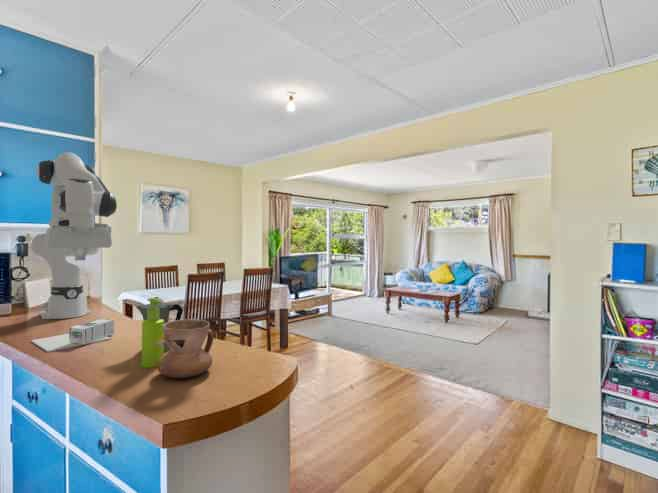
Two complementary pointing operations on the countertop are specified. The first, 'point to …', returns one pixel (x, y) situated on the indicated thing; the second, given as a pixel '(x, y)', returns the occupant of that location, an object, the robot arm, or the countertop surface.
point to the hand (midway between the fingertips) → (80, 260)
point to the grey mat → (60, 342)
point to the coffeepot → (162, 313)
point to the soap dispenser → (152, 336)
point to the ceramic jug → (185, 348)
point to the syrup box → (91, 331)
